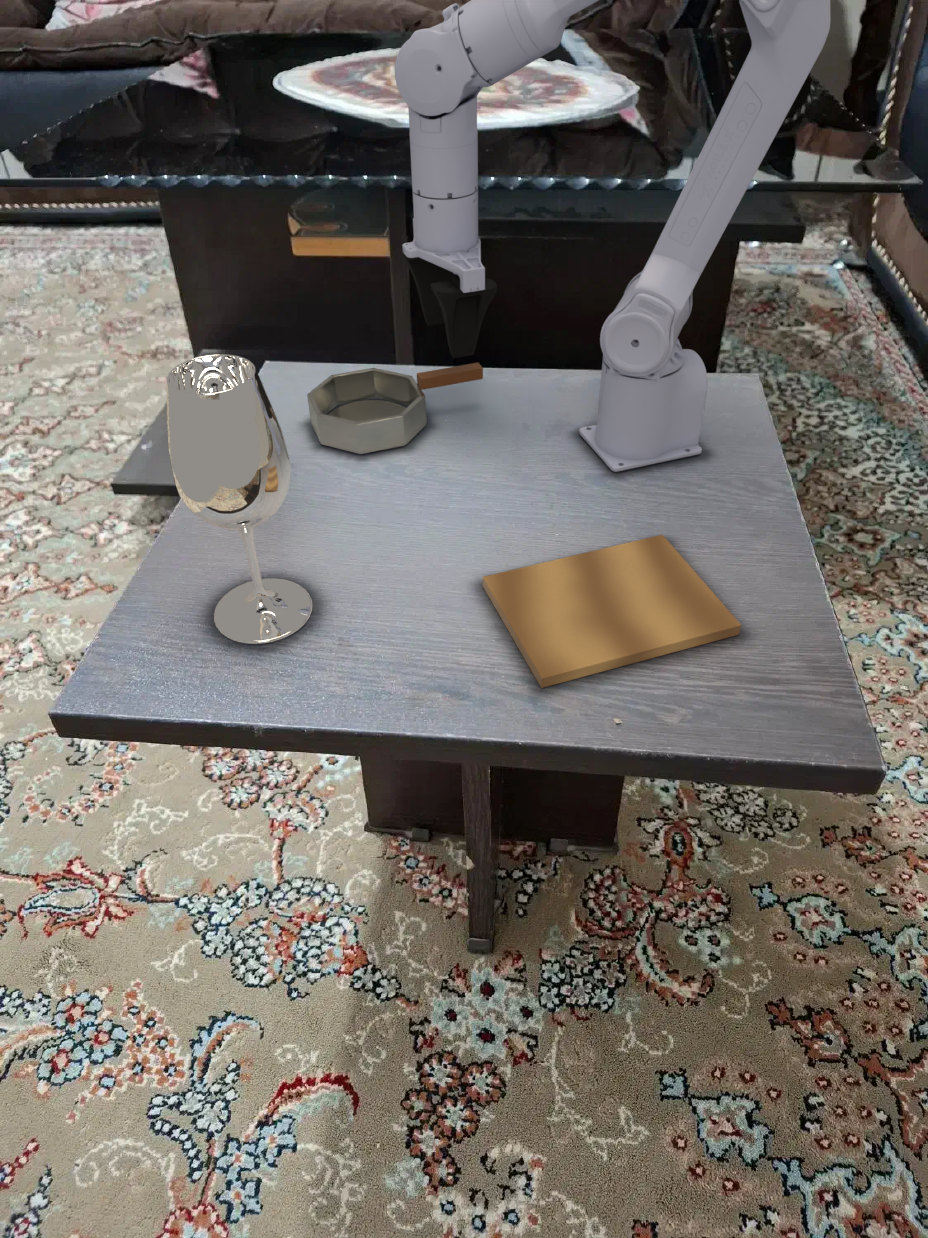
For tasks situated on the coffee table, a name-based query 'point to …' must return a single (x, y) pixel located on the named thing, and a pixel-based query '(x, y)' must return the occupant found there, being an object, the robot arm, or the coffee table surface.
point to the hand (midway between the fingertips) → (449, 338)
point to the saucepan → (377, 406)
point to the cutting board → (607, 609)
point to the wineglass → (234, 481)
